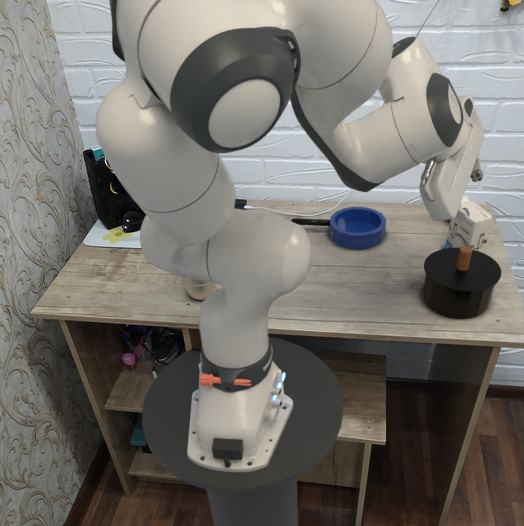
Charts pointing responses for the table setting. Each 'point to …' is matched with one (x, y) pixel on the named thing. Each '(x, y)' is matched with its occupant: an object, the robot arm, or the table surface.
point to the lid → (462, 269)
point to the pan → (357, 227)
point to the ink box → (470, 229)
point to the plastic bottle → (199, 288)
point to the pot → (455, 301)
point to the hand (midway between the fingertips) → (472, 198)
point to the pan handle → (311, 222)
